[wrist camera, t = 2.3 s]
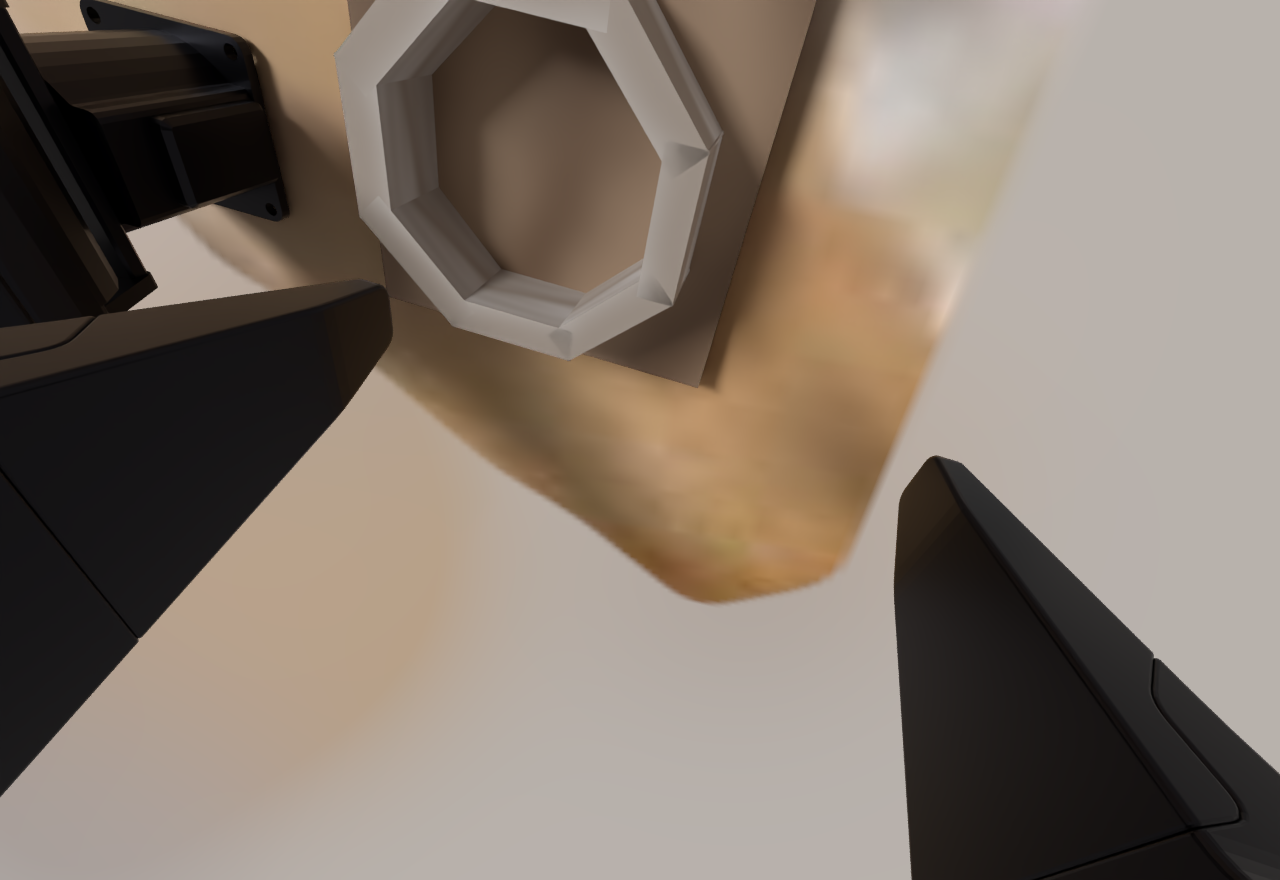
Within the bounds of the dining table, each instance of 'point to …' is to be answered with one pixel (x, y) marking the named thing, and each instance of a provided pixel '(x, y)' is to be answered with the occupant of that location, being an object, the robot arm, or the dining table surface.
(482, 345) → the dining table surface
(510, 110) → the ring holder
